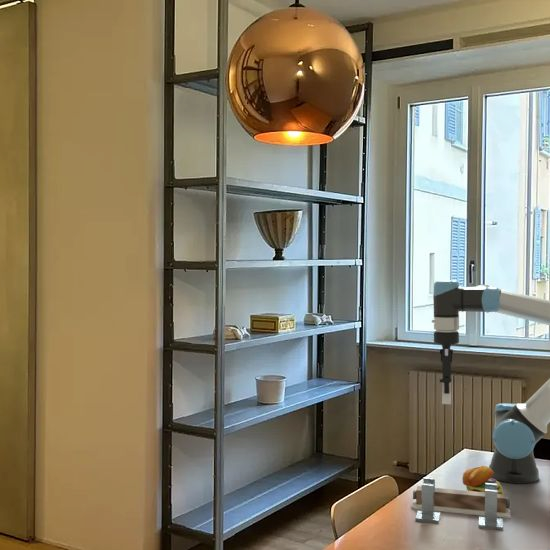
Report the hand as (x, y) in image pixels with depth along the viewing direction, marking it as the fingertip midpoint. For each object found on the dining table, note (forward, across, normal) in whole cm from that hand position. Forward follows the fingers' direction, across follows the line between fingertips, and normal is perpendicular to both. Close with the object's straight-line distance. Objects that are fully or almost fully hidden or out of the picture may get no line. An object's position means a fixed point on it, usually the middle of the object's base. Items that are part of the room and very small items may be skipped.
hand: (446, 399), depth 223 cm
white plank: (+26, +22, +4) cm, 34 cm away
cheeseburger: (+26, +10, +10) cm, 30 cm away
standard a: (+26, +32, -5) cm, 41 cm away
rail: (+25, +22, +4) cm, 34 cm away
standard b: (+26, +33, +11) cm, 43 cm away
